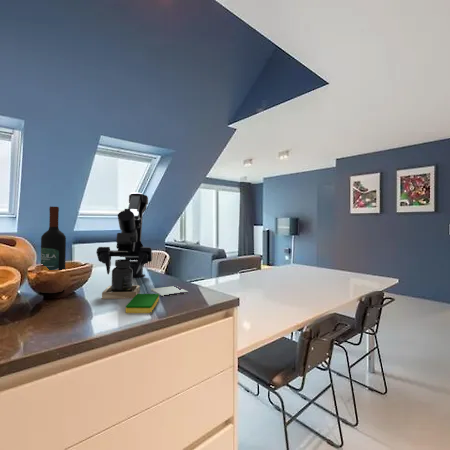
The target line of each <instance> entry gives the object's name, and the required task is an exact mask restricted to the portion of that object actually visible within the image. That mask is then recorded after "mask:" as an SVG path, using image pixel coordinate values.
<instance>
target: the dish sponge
mask: <svg viewBox="0 0 450 450" xmlns="http://www.w3.org/2000/svg"><path fill="white" fill-rule="evenodd" d="M158 300H159V301H160V295H159V294H156V293H138V294H137V295H136V296H135V297H134V298H131V300H130V301H129V302H128V303H127V304H126V305H125V314H151V313H152V312H153V311H154V309H155V307H156V306H157V304H158V303H159V301H158ZM157 302H158V303H157ZM152 310H153V311H152ZM150 312H151V313H150Z"/></svg>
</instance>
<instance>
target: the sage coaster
mask: <svg viewBox="0 0 450 450" xmlns="http://www.w3.org/2000/svg"><path fill="white" fill-rule="evenodd" d="M174 286H175V285H173V286H165V287H156V288H155V287H154V288H150V290H151V292H153V293H154V292H155V293H154V294H156V293H157V294H159V296H160V295H161V296H163V297H165V296H164V295H169V294H174V293H180V292H188V293H189V291H188V290H186V289H183V288H182V289H181V290H179V289H178V288H176V287H174ZM161 296H160V297H161Z"/></svg>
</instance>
